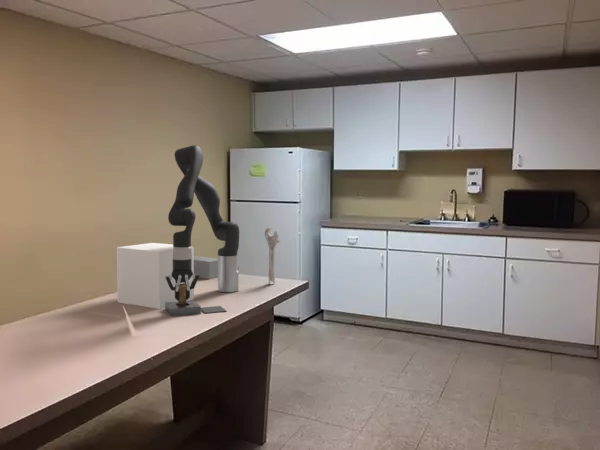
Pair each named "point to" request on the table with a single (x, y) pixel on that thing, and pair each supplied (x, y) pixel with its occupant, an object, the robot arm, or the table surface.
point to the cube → (147, 275)
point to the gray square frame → (182, 308)
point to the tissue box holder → (206, 267)
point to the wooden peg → (182, 295)
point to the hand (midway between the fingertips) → (182, 299)
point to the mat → (212, 309)
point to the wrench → (271, 252)
